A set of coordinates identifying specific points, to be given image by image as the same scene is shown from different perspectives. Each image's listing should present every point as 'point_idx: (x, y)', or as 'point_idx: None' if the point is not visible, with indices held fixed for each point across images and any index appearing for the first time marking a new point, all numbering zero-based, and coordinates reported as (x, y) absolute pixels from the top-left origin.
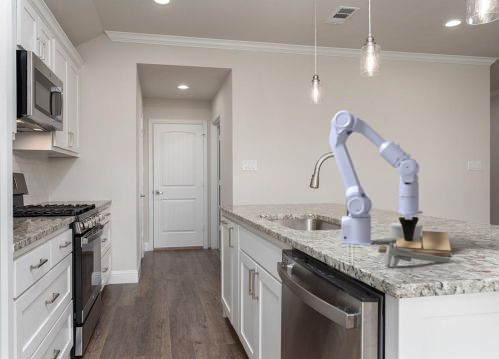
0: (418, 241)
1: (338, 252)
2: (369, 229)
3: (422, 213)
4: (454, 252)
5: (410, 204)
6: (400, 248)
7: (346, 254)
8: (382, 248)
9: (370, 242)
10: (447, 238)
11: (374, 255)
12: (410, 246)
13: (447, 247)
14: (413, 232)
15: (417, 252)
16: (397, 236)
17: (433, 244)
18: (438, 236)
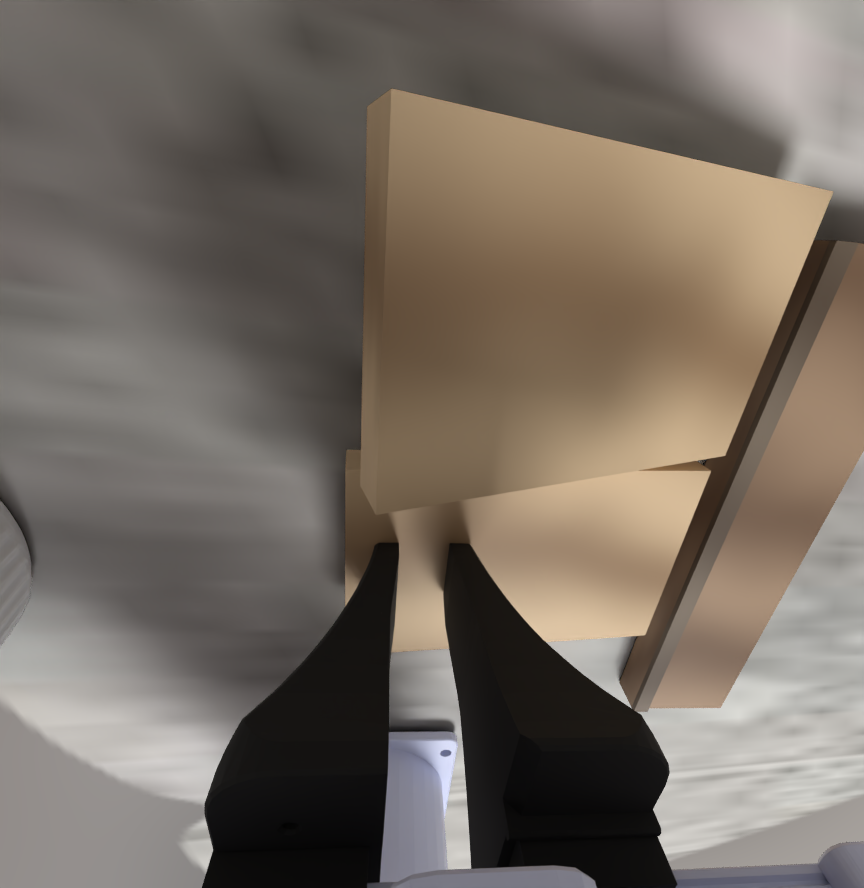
0: None
1: (694, 810)
2: (401, 875)
3: (577, 876)
4: (620, 107)
5: None
6: (700, 605)
7: (745, 783)
8: (707, 692)
9: (390, 746)
10: (605, 158)
11: (774, 693)
12: (653, 549)
13: (783, 219)
14: (508, 604)
15: (824, 502)
16: (15, 623)
17: (691, 371)
18: (537, 296)
